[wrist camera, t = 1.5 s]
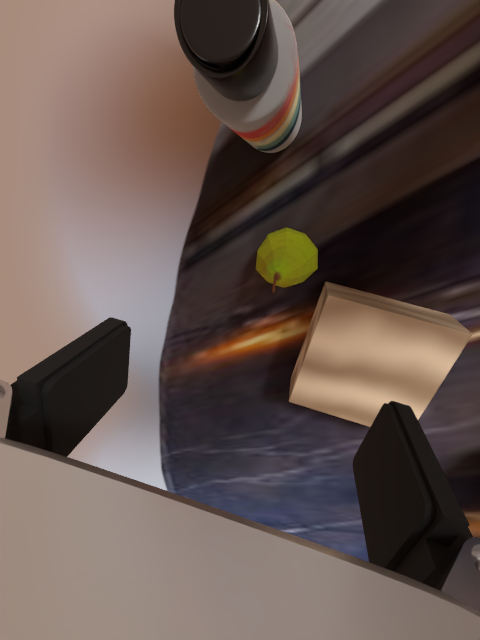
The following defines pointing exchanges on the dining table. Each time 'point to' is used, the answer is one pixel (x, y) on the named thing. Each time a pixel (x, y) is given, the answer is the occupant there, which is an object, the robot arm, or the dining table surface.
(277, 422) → the dining table surface
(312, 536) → the dining table surface
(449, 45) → the dining table surface
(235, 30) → the lotion bottle
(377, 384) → the plinth
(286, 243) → the fruit
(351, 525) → the dining table surface
